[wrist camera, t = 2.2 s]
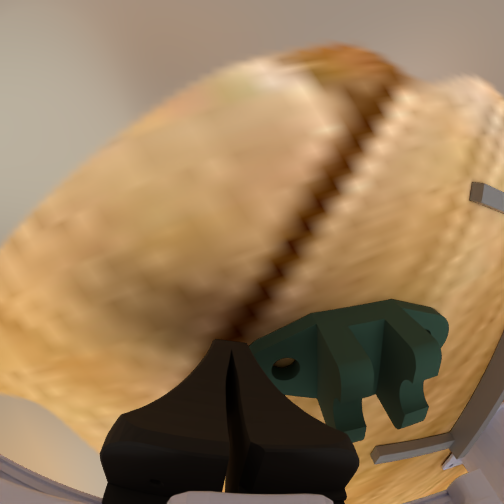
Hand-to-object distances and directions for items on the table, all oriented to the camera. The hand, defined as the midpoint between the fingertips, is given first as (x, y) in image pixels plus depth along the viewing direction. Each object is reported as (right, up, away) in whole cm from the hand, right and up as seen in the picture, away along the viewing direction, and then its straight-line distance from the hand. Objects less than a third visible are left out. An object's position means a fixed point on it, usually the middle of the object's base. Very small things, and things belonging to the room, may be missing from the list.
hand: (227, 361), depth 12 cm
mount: (+6, 0, +3) cm, 7 cm away
